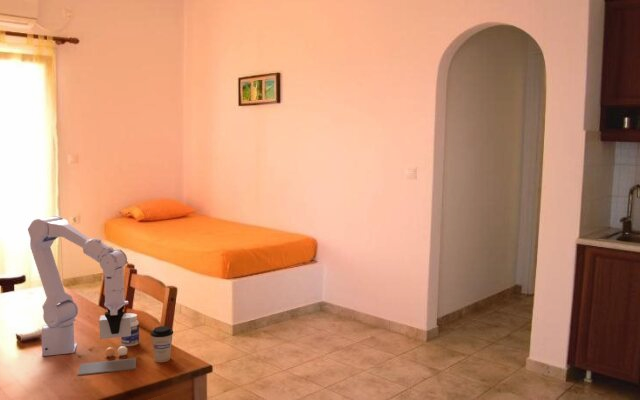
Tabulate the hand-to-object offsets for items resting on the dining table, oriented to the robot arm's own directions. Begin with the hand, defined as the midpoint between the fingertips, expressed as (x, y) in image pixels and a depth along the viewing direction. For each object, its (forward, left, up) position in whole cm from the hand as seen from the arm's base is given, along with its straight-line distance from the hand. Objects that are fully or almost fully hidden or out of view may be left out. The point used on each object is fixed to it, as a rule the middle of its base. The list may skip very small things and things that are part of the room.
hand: (115, 330), depth 171 cm
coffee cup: (+14, -7, -9) cm, 18 cm away
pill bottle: (+4, +10, -9) cm, 14 cm away
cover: (0, 0, -1) cm, 1 cm away
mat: (-2, -9, -8) cm, 12 cm away
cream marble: (+2, 0, -8) cm, 9 cm away
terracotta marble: (-2, 0, -8) cm, 9 cm away
